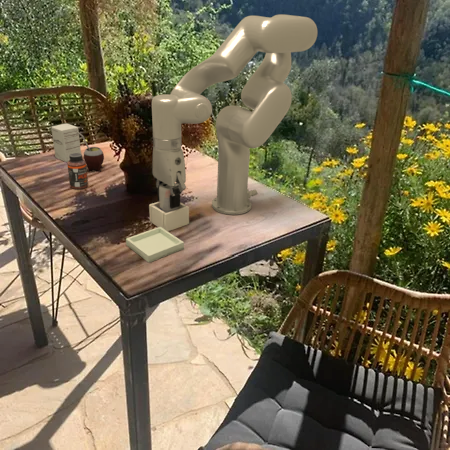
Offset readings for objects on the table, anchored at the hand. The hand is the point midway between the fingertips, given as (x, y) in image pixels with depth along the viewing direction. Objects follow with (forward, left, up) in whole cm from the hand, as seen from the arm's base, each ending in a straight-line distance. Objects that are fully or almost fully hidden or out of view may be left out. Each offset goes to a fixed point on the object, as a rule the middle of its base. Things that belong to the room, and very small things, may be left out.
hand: (168, 202), depth 130 cm
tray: (+11, +9, -6) cm, 16 cm away
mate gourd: (-2, -51, -7) cm, 51 cm away
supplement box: (0, -68, -7) cm, 68 cm away
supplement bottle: (+9, -40, -7) cm, 42 cm away
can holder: (0, 0, -6) cm, 6 cm away
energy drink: (0, 0, -7) cm, 7 cm away
